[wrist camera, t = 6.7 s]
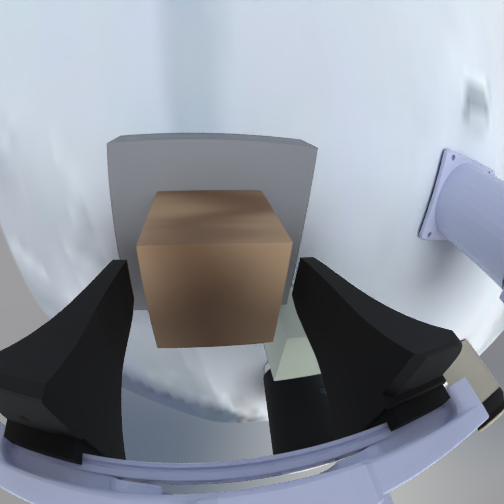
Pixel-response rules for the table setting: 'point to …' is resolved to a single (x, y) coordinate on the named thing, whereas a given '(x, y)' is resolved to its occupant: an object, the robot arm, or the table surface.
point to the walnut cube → (213, 268)
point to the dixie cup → (297, 413)
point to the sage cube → (290, 347)
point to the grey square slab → (206, 182)
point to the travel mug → (477, 382)
